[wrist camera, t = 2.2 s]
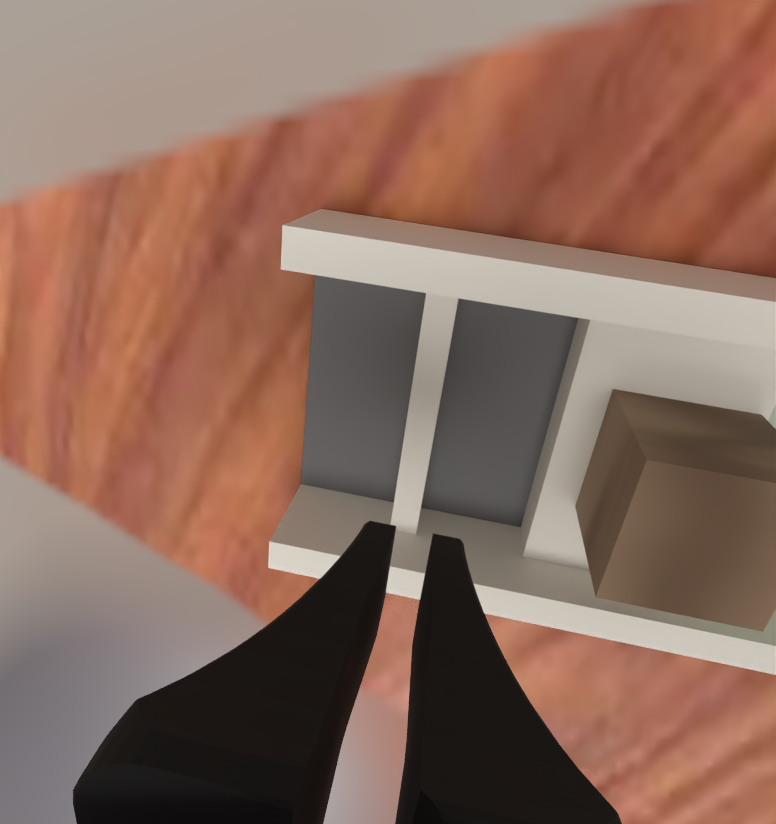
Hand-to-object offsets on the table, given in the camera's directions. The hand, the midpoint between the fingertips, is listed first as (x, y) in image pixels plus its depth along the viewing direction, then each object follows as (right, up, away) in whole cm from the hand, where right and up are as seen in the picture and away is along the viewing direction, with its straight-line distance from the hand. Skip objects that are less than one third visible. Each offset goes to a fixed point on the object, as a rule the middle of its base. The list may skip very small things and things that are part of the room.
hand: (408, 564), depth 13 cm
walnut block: (+9, +2, +6) cm, 11 cm away
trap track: (+8, +3, +8) cm, 11 cm away
